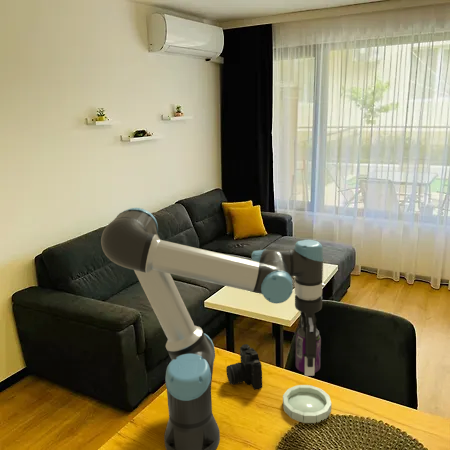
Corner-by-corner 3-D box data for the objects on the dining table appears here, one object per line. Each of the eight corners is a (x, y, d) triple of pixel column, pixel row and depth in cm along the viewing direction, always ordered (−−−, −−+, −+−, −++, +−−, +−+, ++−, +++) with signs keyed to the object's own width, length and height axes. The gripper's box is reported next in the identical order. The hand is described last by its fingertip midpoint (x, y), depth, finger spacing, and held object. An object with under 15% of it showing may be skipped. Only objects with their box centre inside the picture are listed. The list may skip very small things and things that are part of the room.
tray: (285, 422, 125) (285, 415, 124) (281, 391, 138) (281, 385, 138) (334, 423, 124) (334, 415, 124) (326, 391, 138) (326, 385, 137)
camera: (222, 370, 151) (221, 345, 148) (251, 364, 154) (250, 339, 151) (233, 395, 138) (232, 367, 135) (265, 388, 141) (265, 361, 138)
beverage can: (320, 376, 124) (321, 339, 121) (295, 374, 125) (295, 337, 122) (320, 362, 130) (320, 326, 127) (296, 360, 132) (296, 324, 129)
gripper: (328, 311, 112) (326, 388, 118) (316, 280, 131) (315, 348, 137) (299, 311, 112) (298, 388, 118) (291, 281, 131) (291, 348, 138)
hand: (307, 366), depth 128 cm, fingers closed on beverage can, 7 cm apart
